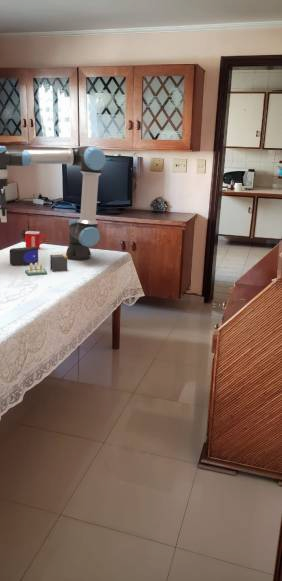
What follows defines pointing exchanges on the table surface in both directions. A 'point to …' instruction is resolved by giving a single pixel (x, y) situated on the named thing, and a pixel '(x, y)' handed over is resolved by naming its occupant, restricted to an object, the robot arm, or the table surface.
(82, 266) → the table surface
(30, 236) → the mug
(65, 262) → the gray orange-striped box
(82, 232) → the robot arm
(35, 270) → the header
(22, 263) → the computer mouse
